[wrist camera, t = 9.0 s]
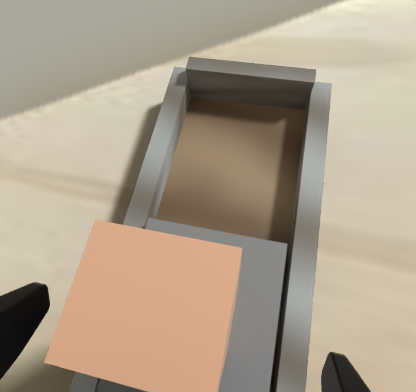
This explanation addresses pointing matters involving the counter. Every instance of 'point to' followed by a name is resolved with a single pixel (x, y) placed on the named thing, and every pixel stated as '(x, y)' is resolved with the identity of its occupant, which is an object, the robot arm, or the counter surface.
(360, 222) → the counter surface
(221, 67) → the rail
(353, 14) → the counter surface
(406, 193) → the counter surface
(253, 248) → the carriage
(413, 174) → the counter surface
